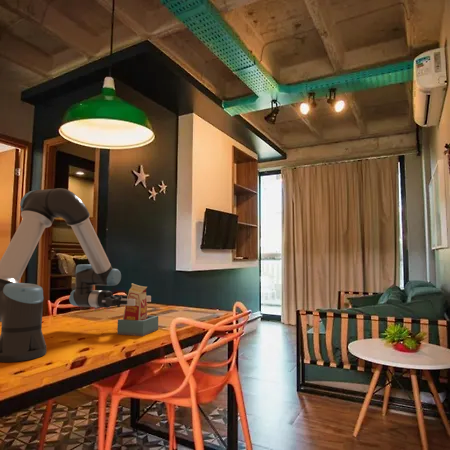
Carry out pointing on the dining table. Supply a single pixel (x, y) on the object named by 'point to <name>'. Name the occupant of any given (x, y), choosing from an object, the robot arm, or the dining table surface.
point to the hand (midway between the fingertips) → (143, 300)
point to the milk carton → (136, 304)
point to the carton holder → (137, 326)
